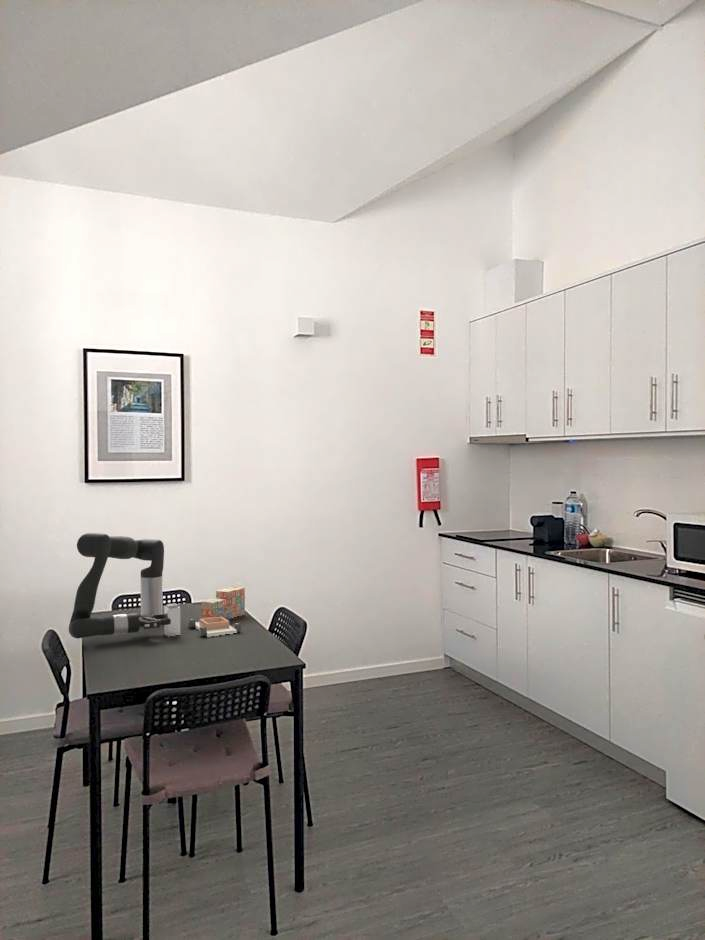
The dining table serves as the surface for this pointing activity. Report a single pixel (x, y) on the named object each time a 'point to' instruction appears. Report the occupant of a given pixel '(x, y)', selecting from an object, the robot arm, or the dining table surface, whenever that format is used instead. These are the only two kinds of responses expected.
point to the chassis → (214, 626)
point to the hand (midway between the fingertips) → (167, 618)
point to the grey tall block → (172, 619)
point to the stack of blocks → (225, 603)
